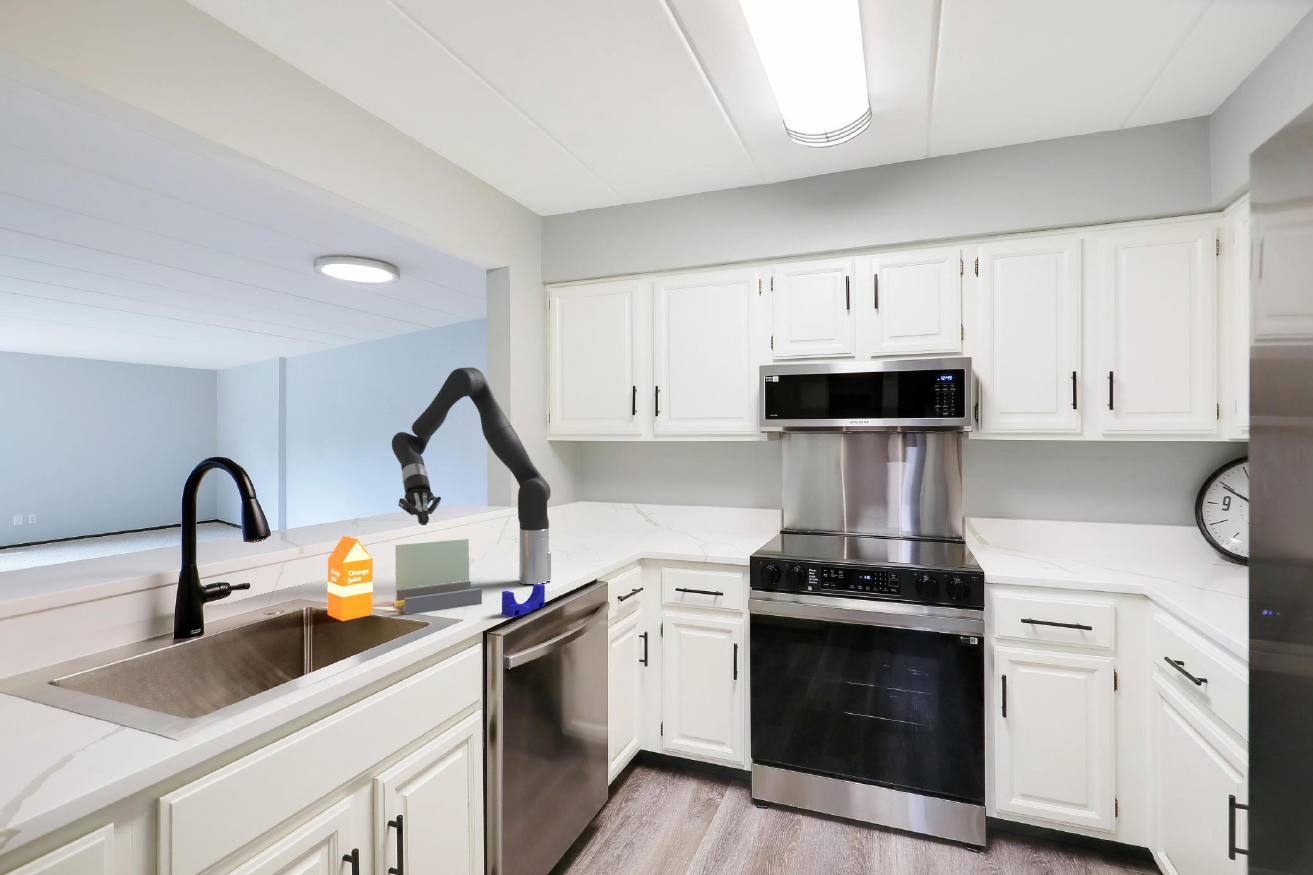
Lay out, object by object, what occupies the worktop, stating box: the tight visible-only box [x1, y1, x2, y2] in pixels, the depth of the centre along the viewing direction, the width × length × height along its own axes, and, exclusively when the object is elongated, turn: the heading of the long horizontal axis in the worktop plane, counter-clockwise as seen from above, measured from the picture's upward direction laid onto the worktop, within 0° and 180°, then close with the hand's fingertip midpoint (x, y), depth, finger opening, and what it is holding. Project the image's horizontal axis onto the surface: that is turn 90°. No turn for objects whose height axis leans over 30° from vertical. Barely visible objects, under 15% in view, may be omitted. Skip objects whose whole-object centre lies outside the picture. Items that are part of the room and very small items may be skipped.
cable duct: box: [393, 580, 483, 614], centre depth 166 cm, size 23×12×4 cm, turn 124°
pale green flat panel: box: [395, 538, 470, 590], centre depth 172 cm, size 20×12×1 cm
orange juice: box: [327, 535, 374, 622], centre depth 155 cm, size 8×9×20 cm
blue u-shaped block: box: [501, 584, 546, 618], centre depth 160 cm, size 12×4×6 cm, turn 141°
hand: (424, 523), depth 182 cm, fingers closed
